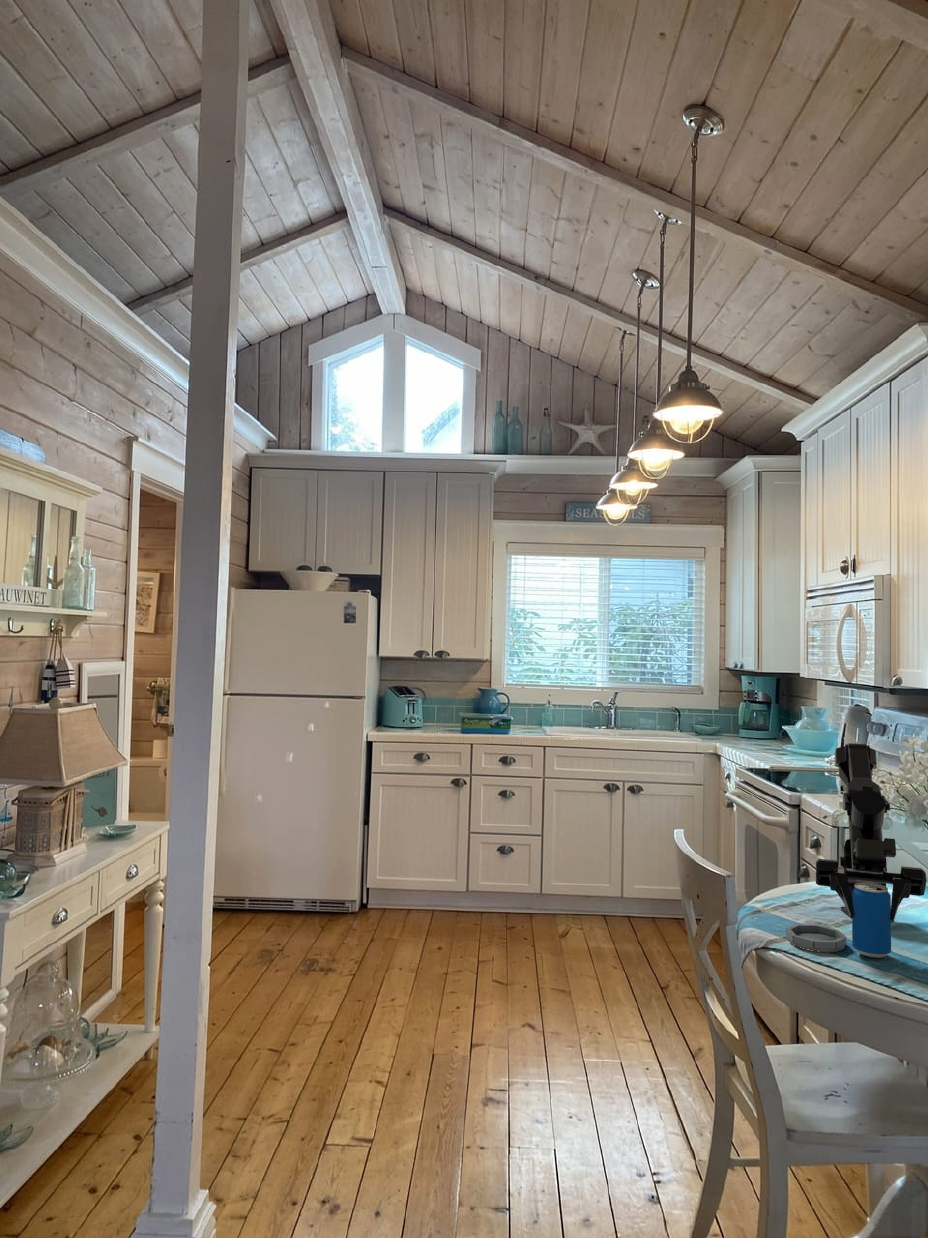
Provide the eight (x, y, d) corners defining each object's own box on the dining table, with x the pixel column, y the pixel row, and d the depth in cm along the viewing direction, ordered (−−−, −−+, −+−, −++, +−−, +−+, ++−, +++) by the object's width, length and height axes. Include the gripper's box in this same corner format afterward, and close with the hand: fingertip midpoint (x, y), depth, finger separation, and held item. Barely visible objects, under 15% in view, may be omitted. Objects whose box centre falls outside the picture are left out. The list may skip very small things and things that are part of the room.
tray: (781, 933, 166) (781, 923, 166) (832, 935, 166) (832, 925, 166) (797, 952, 156) (797, 941, 156) (852, 953, 156) (852, 942, 156)
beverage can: (898, 959, 151) (897, 892, 152) (862, 959, 151) (862, 892, 152) (880, 946, 158) (879, 881, 158) (846, 946, 158) (845, 881, 158)
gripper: (815, 816, 162) (817, 890, 152) (924, 825, 155) (934, 902, 145) (815, 848, 169) (816, 920, 159) (919, 857, 162) (928, 933, 152)
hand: (872, 918), depth 153 cm, fingers closed on beverage can, 6 cm apart
